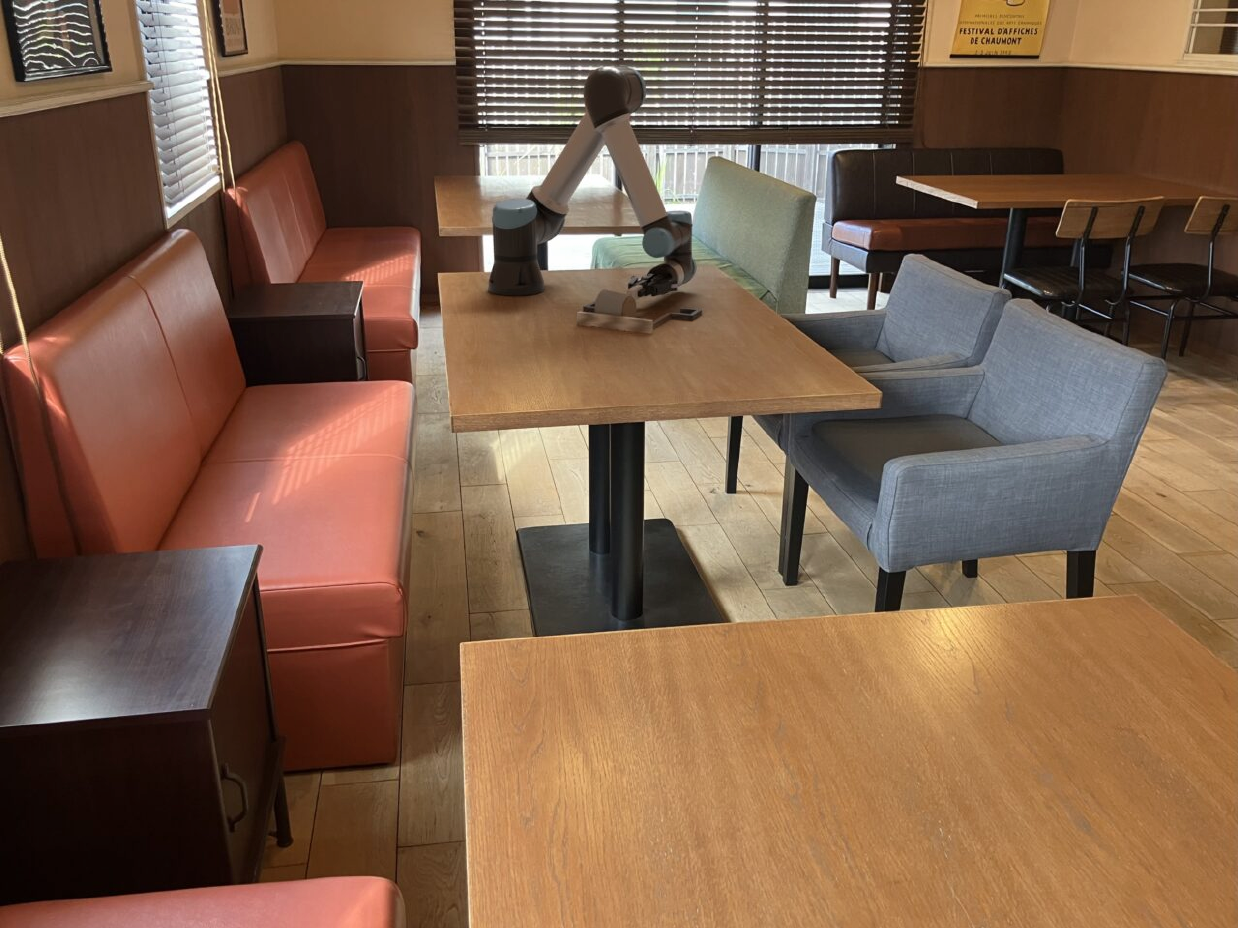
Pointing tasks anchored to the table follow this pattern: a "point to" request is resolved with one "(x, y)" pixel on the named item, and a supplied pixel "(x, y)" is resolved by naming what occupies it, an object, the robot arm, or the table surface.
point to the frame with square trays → (630, 319)
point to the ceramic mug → (615, 304)
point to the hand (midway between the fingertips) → (629, 296)
